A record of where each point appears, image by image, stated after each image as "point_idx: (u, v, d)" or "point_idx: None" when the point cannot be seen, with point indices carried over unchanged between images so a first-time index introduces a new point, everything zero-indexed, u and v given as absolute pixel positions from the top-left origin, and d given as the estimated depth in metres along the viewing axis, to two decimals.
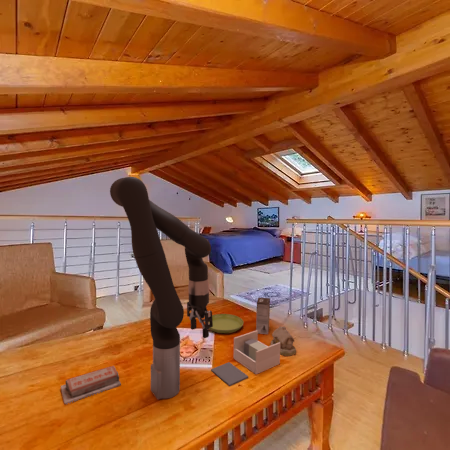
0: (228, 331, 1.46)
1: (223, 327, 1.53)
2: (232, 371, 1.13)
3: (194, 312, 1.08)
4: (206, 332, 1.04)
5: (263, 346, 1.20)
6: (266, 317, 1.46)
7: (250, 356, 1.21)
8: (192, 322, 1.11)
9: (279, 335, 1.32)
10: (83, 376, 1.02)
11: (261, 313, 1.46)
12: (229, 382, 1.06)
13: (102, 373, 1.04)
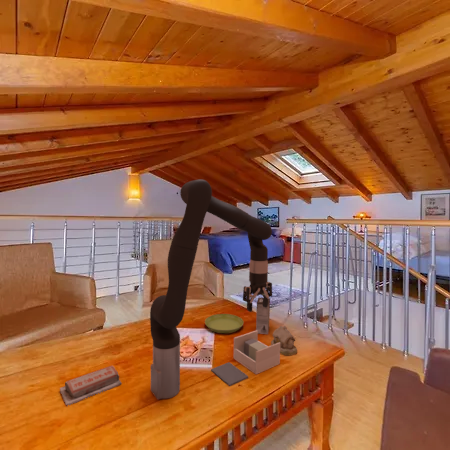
0: (228, 331, 1.46)
1: (223, 327, 1.53)
2: (232, 371, 1.13)
3: None
4: None
5: (263, 346, 1.20)
6: (266, 317, 1.46)
7: (250, 356, 1.21)
8: None
9: (280, 335, 1.32)
10: (83, 377, 1.02)
11: (261, 313, 1.46)
12: (229, 382, 1.06)
13: (101, 373, 1.04)
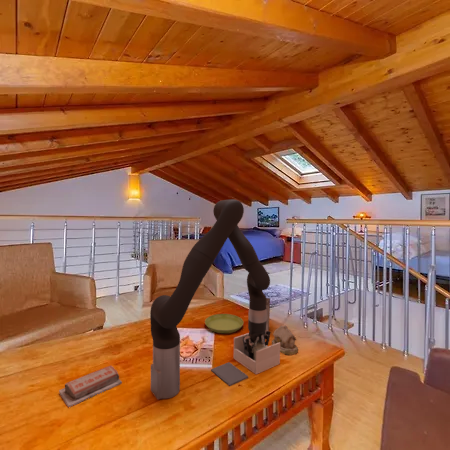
0: (228, 331, 1.46)
1: (223, 327, 1.53)
2: (232, 371, 1.13)
3: None
4: None
5: (263, 346, 1.20)
6: None
7: None
8: None
9: (281, 334, 1.32)
10: (83, 378, 1.01)
11: None
12: (229, 382, 1.06)
13: (101, 373, 1.04)
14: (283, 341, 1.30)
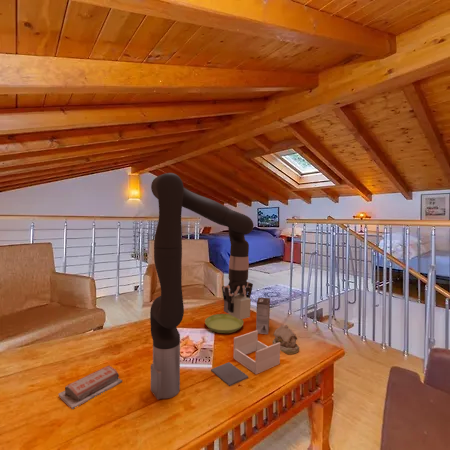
0: (228, 331, 1.46)
1: (223, 327, 1.53)
2: (232, 371, 1.13)
3: None
4: None
5: (244, 297, 1.11)
6: (266, 317, 1.46)
7: None
8: None
9: (282, 334, 1.33)
10: (83, 379, 1.00)
11: (260, 313, 1.46)
12: (229, 382, 1.06)
13: (101, 374, 1.04)
14: (284, 340, 1.30)
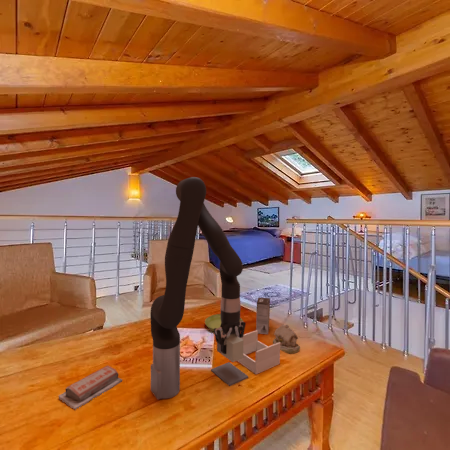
0: None
1: None
2: (232, 371, 1.13)
3: None
4: None
5: (237, 338, 1.10)
6: (266, 317, 1.46)
7: None
8: None
9: (283, 333, 1.33)
10: (83, 380, 1.00)
11: (260, 313, 1.46)
12: (229, 382, 1.06)
13: (101, 374, 1.04)
14: (285, 340, 1.31)
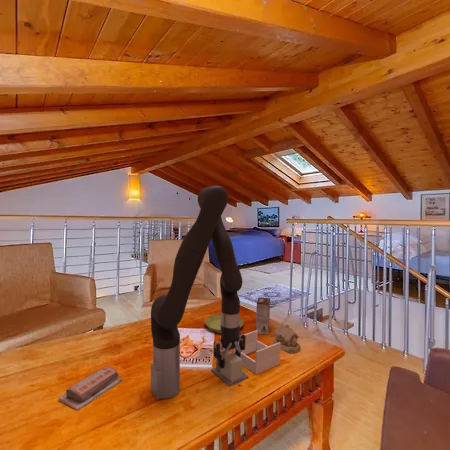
0: None
1: None
2: None
3: None
4: None
5: (236, 357, 1.10)
6: (266, 317, 1.46)
7: None
8: None
9: (283, 333, 1.34)
10: (84, 381, 1.00)
11: (261, 313, 1.46)
12: (229, 382, 1.06)
13: (101, 374, 1.04)
14: (286, 340, 1.31)
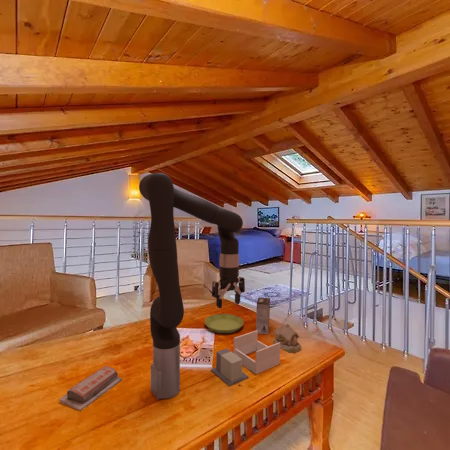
0: (229, 331, 1.46)
1: (223, 327, 1.53)
2: None
3: None
4: None
5: (236, 357, 1.10)
6: (266, 317, 1.46)
7: (222, 368, 1.11)
8: None
9: (284, 333, 1.34)
10: (84, 381, 0.99)
11: (261, 313, 1.46)
12: (229, 382, 1.06)
13: (101, 374, 1.04)
14: (287, 339, 1.31)
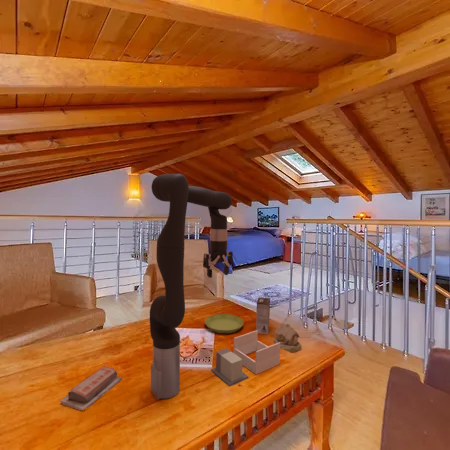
0: (229, 331, 1.46)
1: (223, 327, 1.53)
2: None
3: None
4: None
5: (236, 357, 1.10)
6: (266, 317, 1.46)
7: (222, 368, 1.11)
8: None
9: (284, 332, 1.34)
10: (85, 382, 0.99)
11: (261, 313, 1.46)
12: (229, 382, 1.06)
13: (101, 374, 1.04)
14: (287, 339, 1.32)
